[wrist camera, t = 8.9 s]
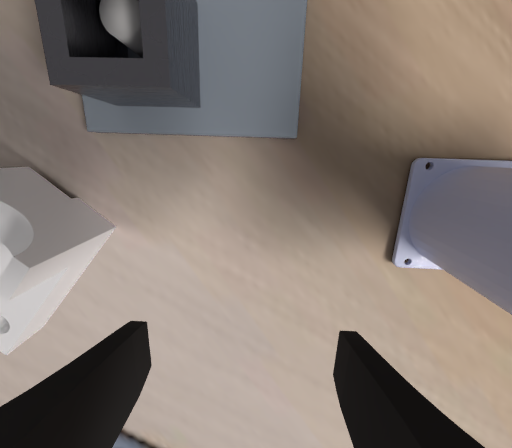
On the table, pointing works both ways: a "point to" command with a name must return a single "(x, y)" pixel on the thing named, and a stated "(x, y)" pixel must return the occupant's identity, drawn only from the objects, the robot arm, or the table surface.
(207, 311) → the table surface
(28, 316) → the bracket
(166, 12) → the dark grey hollow block
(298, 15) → the plate with peg
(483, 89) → the table surface
